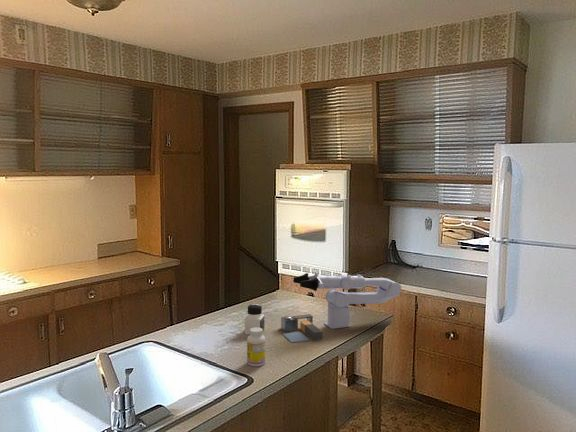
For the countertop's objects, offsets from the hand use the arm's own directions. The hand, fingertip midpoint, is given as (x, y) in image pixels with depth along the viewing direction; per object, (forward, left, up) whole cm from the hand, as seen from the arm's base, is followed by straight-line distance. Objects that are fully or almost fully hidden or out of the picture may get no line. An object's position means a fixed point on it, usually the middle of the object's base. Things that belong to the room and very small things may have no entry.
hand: (297, 281), depth 210 cm
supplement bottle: (+27, +27, -22) cm, 44 cm away
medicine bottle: (+18, -4, -22) cm, 29 cm away
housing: (-2, -2, -22) cm, 22 cm away
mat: (+3, +8, -22) cm, 23 cm away
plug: (-4, +7, -22) cm, 23 cm away
